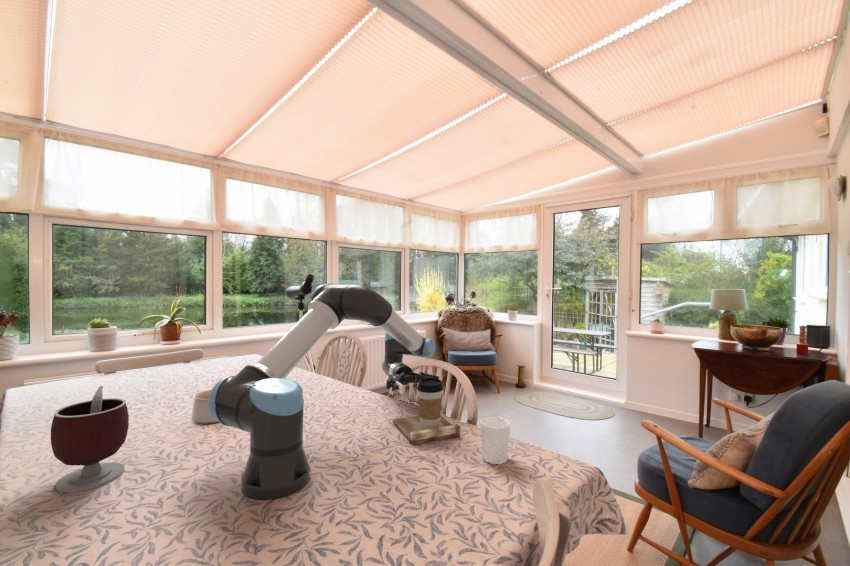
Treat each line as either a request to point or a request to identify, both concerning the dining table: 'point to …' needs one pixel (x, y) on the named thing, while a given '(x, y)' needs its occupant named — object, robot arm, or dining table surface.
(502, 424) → the white cup
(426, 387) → the coffee cup
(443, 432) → the wooden tray
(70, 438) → the mate gourd
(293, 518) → the dining table surface
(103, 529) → the dining table surface
